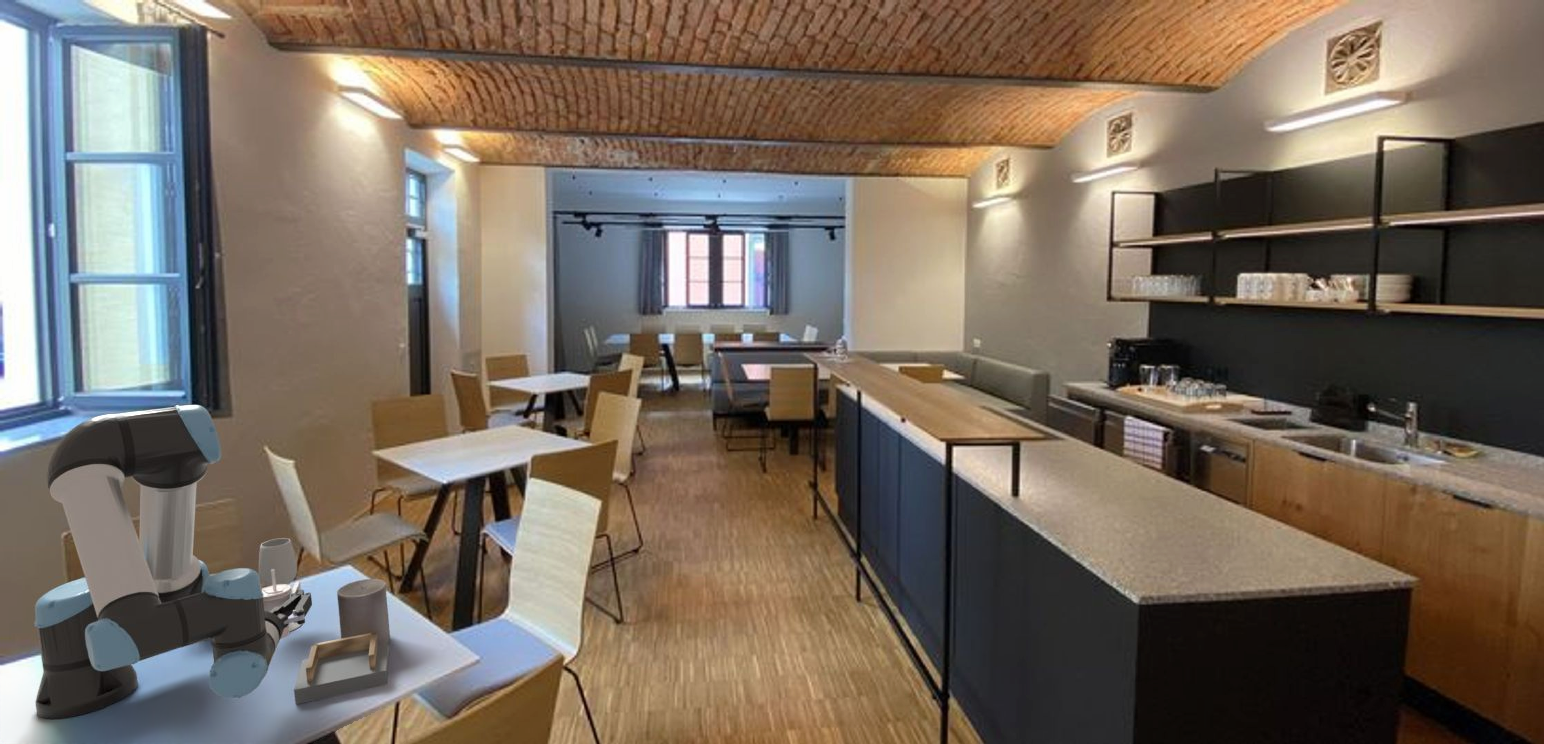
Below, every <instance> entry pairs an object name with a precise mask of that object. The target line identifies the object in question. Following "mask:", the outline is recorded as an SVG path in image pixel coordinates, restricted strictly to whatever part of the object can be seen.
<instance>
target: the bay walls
mask: <svg viewBox="0 0 1544 744" xmlns="http://www.w3.org/2000/svg"><path fill="white" fill-rule="evenodd" d="M377 646H378V643H377V633H376V632H373V633H368V634H363V635H357V636H352V637H347V638H342V639H341V638H337V639H332V640H327V641H322V642H317V643H312V644H311V647H310V651H309V656H308V658H307V659H308V662H307V665H306V676H307V682H312V681H313V680H314V676H315V672H316V668H317V664H318V660H319V658H324V657H329V656H334V655H339V654H344V653H349V652H354V651H359V650H364V649H369V666H370V669H374V668H375V667H376V657H377Z"/></svg>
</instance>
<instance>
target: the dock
mask: <svg viewBox="0 0 1544 744" xmlns="http://www.w3.org/2000/svg"><path fill="white" fill-rule="evenodd" d="M389 651H390V650H389V643H385V644H380V645H378V646H377V657H376V667H375V668H374V669H370V666H369V649H364V650H359V651H354V652H349V653H344V654H339V655H334V656H329V657H324V658H319V660H318V664H317V668H316V672H315V676H314V680H313V681H312V682H307V676H306V665H307V662H308V658H305V659H302V660H301V664H300V668H299V671H298V675H297V678H296V682H295V685H294V688H293V693H294V702H295V703H294V704H295V705H299V704H303V703H307V702H312V701H318V700H322V699H326V698H330V697H335V696H340V695H345V694H348V693H355V692H359V691H362V690H367V689H372V688H377V687H381V686H386V685H388V679H389V678H388V677H389V676H388V675H389V663H390V662H389V661H390V652H389Z"/></svg>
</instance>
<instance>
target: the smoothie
mask: <svg viewBox="0 0 1544 744" xmlns="http://www.w3.org/2000/svg"><path fill="white" fill-rule="evenodd" d="M271 575H272V583H273V585H272V586H266V587H261V588H262V593H263V595H264V596H263V603H264V611H271V610H272V609H273V608H275V607H277V606H281V605H282V604H283V603H284V602H286V601H287V600H288V599H289V598H291V595H290V593H291V591H292V589H293V588H292V585H290V584H289V585H287V584H279V585H276V580H275V571H274V569H272V570H271ZM289 635H290V632H289V625H288V626H287V627H286V628H284V630H283V633H282V636H281V638H280V640H282V639H284V638H286V637H288V636H289Z"/></svg>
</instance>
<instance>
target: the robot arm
mask: <svg viewBox="0 0 1544 744" xmlns="http://www.w3.org/2000/svg"><path fill="white" fill-rule="evenodd" d="M218 435H219V434H218V431H217V429H216V426H215V423H214V420H213V417H212V416H211V413H209V411H208V409H206V408H205V407H204V406H202V405H200V404H199V405H198V404H189V405H188V404H186V405H179V404H177V405H175V406H173V407H172V406H171V407H164V408H154V409H147V410H145V409H144V410H137V411H128V412H121V413H120V412H119V413H109V414H107V413H106V414H103V415H102V414H101V415H97V416H94V417H91V418H89V419H86V420H85V421H82V422H81V423H79V424H78V425H75V427H73V428H72V429H70V430H69V431H68V432H67V433H66V434H65V435H64V436H63V437H62V438H61V439H60V441H59V442H58V443H57V444H56V446H55V447H54V449H53V451H52V453H51V455H50V457H49V461H48V463H47V468H46V475H45V477H46V484H47V487H48V488H47V489H48V491H49V494H50V496H51V498H52V499H53V500H55V501H56V502H58V503H60V504H61V505H62V507H63V510H64V513H65V516H66V521H67V524H68V527H69V530H70V534H71V536H72V539H73V542H74V546H75V549H76V552H77V557H78V559H79V562H80V565H81V568H82V573H83V575H84V577H81V578H79V579H76V580H72V581H69V582H67V583H63V584H61V585H59V586H57V587H55V588H53V589H51V590H49V591H47V592H46V593H44V594H43V595H42V596H41V597H40V598H38V599H37V601H36V603H35V606H34V615H35V616H34V617H35V619H34V620H35V621H34V627H35V628H36V629H37V635H38V642H39V649H40V657H41V664H42V669H43V670H42V671H43V673H42V677H41V680H40V683H39V687H38V691H37V694H36V697H35V698H36V699H35V709H36V714H37V716H39V717H40V718H44V719H64V718H70V717H71V718H72V717H76V716H80V715H84V714H88V713H92V712H94V711H97V710H101V709H103V708H107V706H110V705H112V704H115V703H117V702H119V701H121V700H122V699H124V698H125V697H127V696H128V695H130V694H131V693H133V691H135V690H136V689H137V687H138V685H139V682H138V673H137V671H136V669H135V668H134V667H133V665H135V664H137V663H138V662H141V661H144V660H146V659H149V658H154V657H156V656H159V655H162V654H165V653H168V652H172V651H174V650H177V649H180V648H184V647H185V648H186V647H189V646H191V645H195V644H198V643H201V642H203V641H207V640H210V643H211V644H210V645H211V646H212V647H211V648H212V657H213V664H212V666H211V667H210V668H211V669H210V670H209V675H208V683H209V686H210V689H211V690H212V691H213V692H214V694H217V695H218V696H220V697H223V698H227V699H235V698H237V699H238V698H241V697H244V696H247V695H249V694H251V693H252V692H254V691H255V690H256V689H257V688H258V687H259V686H260V684H261V683H262V681H263V680H264V679H265V677H266V676H267V674H268V671H269V666H270V665H271V662H272V659H273V657H274V655H275V652H276V650H277V648H278V645H279V643H280V640H281V639H280V638H281V636H282V633H283V630H284V628H286V627H287V626H288V625H289V623H292V622H294V623H298V624H302V625H303V624H305V623H306V619H305V618H306V616H307V614H308V612H309V611H310V610H311V607H312V606H313V603H312V602H313V600H312V592H305V590H304V589H301V582H300V581H296V582H295V583H294V584H293V586H292V588H291V589H292V591H291V593H290V598H289V599H288V600H287V601H286V602H284V603H283V604H282V605H281V606H277V607H275V608H273V609H272V610H271V611H264V603H263V596H264V595H263V593H262V588H263V587H262V581H261V579H260V576H259V572H258V571H256V570H254V569H252V568H248V567H238V568H230V569H227V570H223V571H219V572H218V573H214V574H215V575H212V574H210V572H209V568H208V566H207V565H206V563H205V562H204V561H202V560H200V559H199V558H197V556H195V555H194V554H193V551H194V539H195V538H194V537H195V518H196V503H197V486H198V485H197V484H198V482H200V481H201V480H202V479H204V477H205V476H206V474H207V472H208V464H210V465H213V464H215V463H218V462H219V461H220V460H221V458H222V448H221V444H220V443H221V442H220V439H219V436H218ZM130 477H131V479H132V480H133V481H134V482H135V483H136V484H138V485H139V486H140V489H139V491H140V494H139V495H140V496H139V497H140V498H139V536H138V534H137V533H138V532H137V531H136V528H135V525H134V522H133V519H132V516H131V513H130V510H129V508H128V506H127V502H126V500H125V496H124V494H123V491H122V489H121V488H122V487H123V486H124V484H125V478H130ZM210 575H212V576H210Z"/></svg>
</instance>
